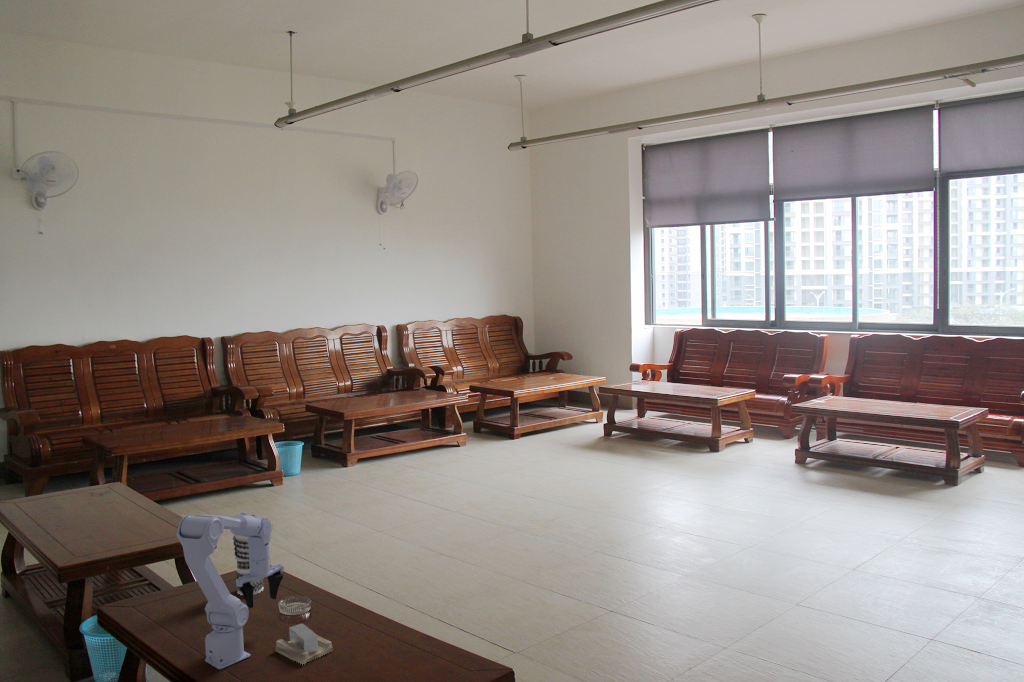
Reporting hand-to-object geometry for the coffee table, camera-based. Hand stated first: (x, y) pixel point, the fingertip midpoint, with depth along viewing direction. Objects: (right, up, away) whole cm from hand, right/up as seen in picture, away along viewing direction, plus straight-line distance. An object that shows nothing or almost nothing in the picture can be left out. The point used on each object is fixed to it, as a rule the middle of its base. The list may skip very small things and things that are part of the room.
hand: (261, 602), depth 229 cm
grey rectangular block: (+15, -9, -11) cm, 21 cm away
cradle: (+15, -10, -11) cm, 21 cm away
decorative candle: (-14, -7, +33) cm, 37 cm away
